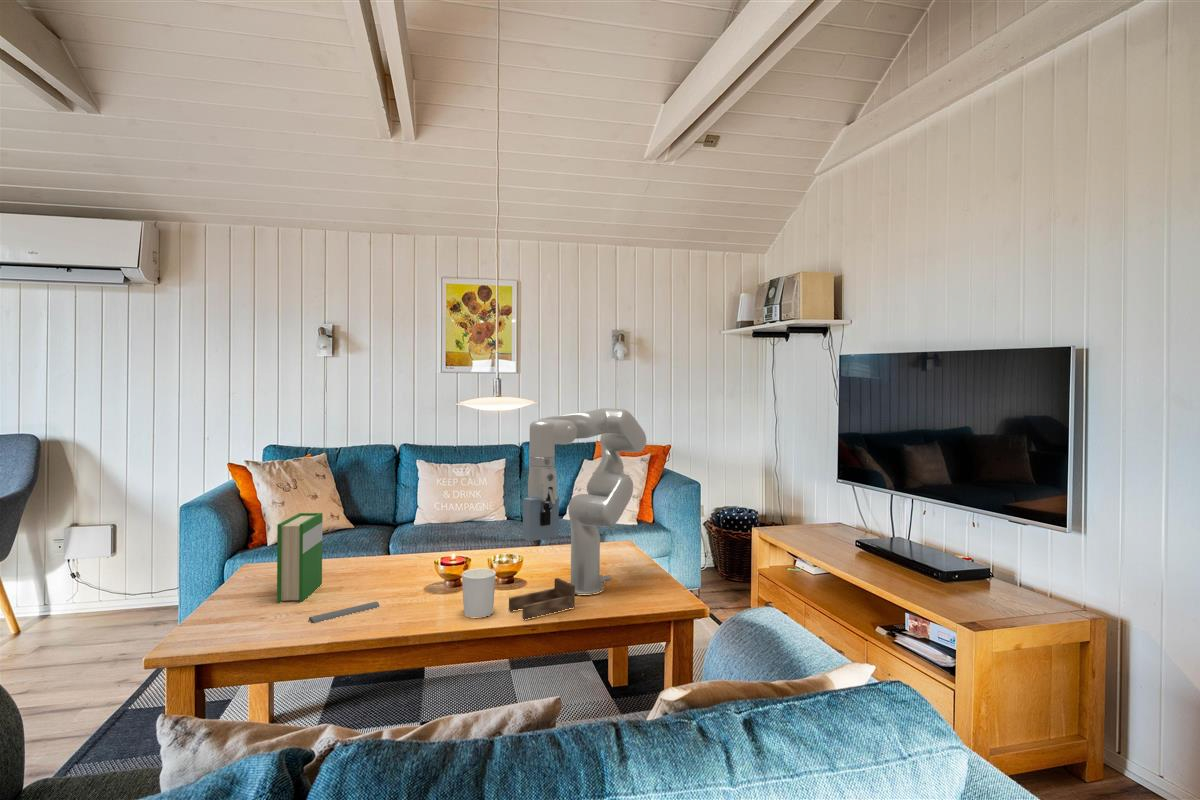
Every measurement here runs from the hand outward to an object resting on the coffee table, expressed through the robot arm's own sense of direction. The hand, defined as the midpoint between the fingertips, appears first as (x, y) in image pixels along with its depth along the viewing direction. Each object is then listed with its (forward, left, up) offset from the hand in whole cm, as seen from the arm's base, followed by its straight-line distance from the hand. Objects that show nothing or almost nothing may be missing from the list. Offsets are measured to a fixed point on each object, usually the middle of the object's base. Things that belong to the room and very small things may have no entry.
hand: (541, 523), depth 186 cm
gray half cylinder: (+48, -30, -27) cm, 63 cm away
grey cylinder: (+16, -8, -26) cm, 32 cm away
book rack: (0, 0, -26) cm, 26 cm away
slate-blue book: (0, 0, -4) cm, 4 cm away
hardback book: (+55, -56, -26) cm, 83 cm away
